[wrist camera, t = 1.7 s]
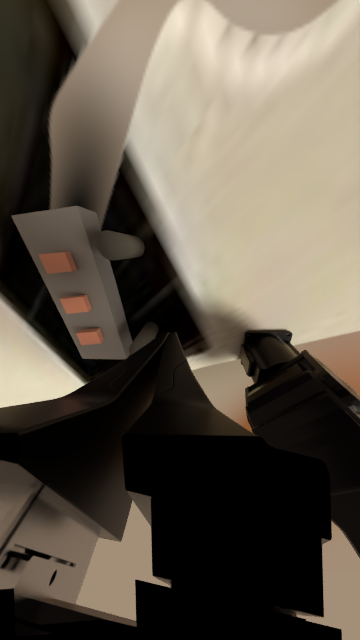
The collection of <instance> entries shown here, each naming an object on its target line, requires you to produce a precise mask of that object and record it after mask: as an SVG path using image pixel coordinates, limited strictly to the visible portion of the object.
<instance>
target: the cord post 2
mask: <svg viewBox="0 0 360 640" xmlns="http://www.w3.org/2000/svg"><path fill="white" fill-rule="evenodd" d="M158 330H159V328H158V326H157V324H155V323H154V322H147V323H146V324H145V325H144V327H143V328H142V330H141V331H140V333H139V334H138V335H137V337H136V338H135V340H134V341H133V343H132V344H131V346H130V347H129V353H130V354H131V355H132V354H133V353H135V352H136V351H138V350H139V349H141V348H142V347H143V346H145V345H146V344H148V343H149V342H150V341H152V340H153V339H155V337H156V335H157V333H158Z"/></svg>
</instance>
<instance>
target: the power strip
mask: <svg viewBox="0 0 360 640" xmlns="http://www.w3.org/2000/svg"><path fill="white" fill-rule="evenodd" d="M12 218H13V220H14V222H15V224H16V226H17V228H18V230H19V232H20V234H21V236H22V238H23V240H24V242H25V244H26V246H27V248H28V250H29V252H30V254H31V256H32V258H33V260H34V262H35V264H36V266H37V268H38V270H39V272H40V274H41V276H42V278H43V280H44V282H45V284H46V286H47V288H48V290H49V292H50V294H51V296H52V298H53V300H54V302H55V304H56V306H57V308H58V310H59V312H60V314H61V316H62V318H63V320H64V322H65V324H66V326H67V328H68V330H69V332H70V334H71V336H72V338H73V340H74V342H75V344H76V346H77V348H78V350H79V352H80V354H81V356H82V358H83V359H126V358H128V356H129V355H130V353H129V347H130V346H131V344H132V343H133V342H132V339H131V335H130V332H129V328H128V324H127V321H126V317H125V314H124V310H123V307H122V303H121V299H120V296H119V292H118V289H117V285H116V282H115V278H114V274H113V271H112V267H111V264H110V260H108V259H106V258H104V257H103V256H102V255H101V253H100V252H99V250H98V248H97V237H98V235H99V233H100V232H101V228H100V225H99V222H98V217H97V214H96V212H93V211H90V210H87V209H85V208H82V207H79V206H72V207H65V208H59V209H52V210H45V211H39V212H32V213H26V214H19V215H13V216H12ZM60 252H71V255H72V258H73V260H74V263H75V265H76V268H77V271H71V272H61V273H50V274H47V272H46V270H45V268H44V266H43V264H42V261H41V259H40V257H39V255H38V254H49V253H60ZM77 295H87V297H88V299H89V302H90V304H91V307H92V309H91V310H90V311H89V312H80V313H70V314H66V312H65V310H64V307H63V305H62V303H61V301H60V299H61V298H63V297H67V296H77ZM95 328H100V330H101V333H102V336H103V338H104V340H103V341H102V343H99V344H89V345H81V343H80V341H79V339H78V337H77V335H76V333H77V332H78V331H80V330H85V329H95Z"/></svg>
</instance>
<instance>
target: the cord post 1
mask: <svg viewBox="0 0 360 640" xmlns="http://www.w3.org/2000/svg"><path fill="white" fill-rule="evenodd" d="M97 248H98V250H99V252H100V253H101V255H102V256H103V257H104V258H106V259H108V260H120V259H128V258H135V257H140V256H141V255H142V254H143V253H144V243H143V241H142V240H141V239H140V238H139V237H136V236H132V235H127V234H122V233H118V232H113V231H108V230H105V231H102V232H100V233H99V235H98V237H97Z"/></svg>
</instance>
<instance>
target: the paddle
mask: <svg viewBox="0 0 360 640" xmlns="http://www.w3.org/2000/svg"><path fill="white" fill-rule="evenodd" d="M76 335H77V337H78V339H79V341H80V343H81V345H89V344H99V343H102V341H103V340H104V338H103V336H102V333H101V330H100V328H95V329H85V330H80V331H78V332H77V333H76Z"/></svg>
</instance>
